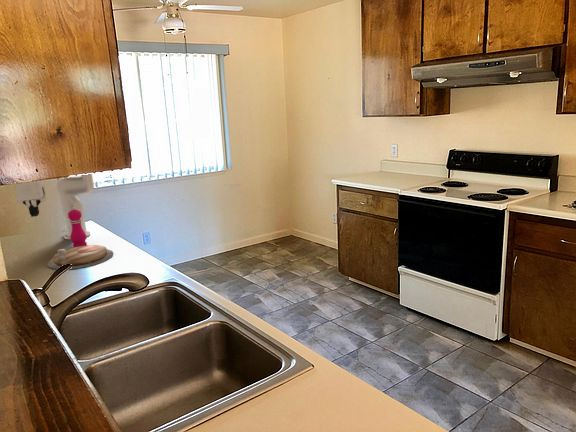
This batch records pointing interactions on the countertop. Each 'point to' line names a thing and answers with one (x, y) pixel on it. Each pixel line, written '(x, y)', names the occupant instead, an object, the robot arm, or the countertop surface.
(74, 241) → the pepper mill
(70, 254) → the turntable
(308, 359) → the countertop surface
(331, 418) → the countertop surface
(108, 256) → the base
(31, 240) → the countertop surface
